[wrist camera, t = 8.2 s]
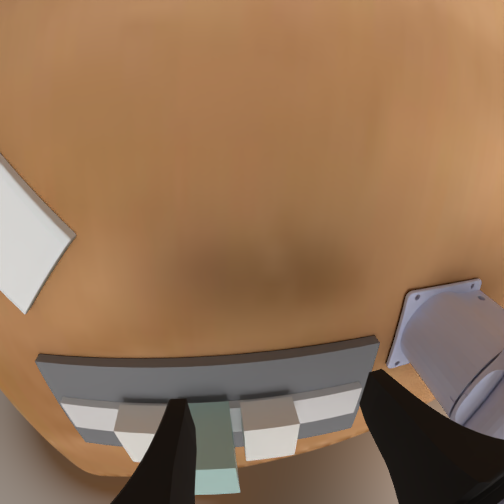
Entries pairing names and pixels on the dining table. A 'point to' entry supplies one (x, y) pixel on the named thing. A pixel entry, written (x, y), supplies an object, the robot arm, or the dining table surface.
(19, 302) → the external hard drive
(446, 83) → the dining table surface
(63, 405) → the rail board
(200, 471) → the block
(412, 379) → the dining table surface
